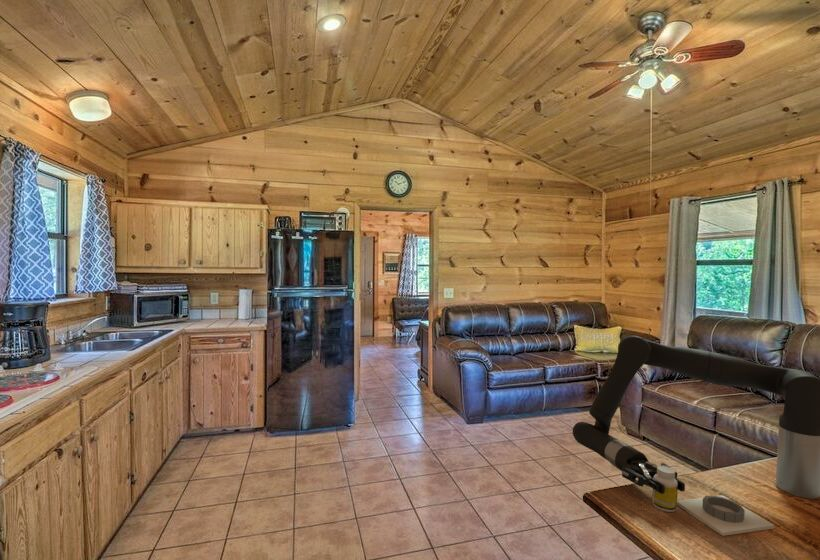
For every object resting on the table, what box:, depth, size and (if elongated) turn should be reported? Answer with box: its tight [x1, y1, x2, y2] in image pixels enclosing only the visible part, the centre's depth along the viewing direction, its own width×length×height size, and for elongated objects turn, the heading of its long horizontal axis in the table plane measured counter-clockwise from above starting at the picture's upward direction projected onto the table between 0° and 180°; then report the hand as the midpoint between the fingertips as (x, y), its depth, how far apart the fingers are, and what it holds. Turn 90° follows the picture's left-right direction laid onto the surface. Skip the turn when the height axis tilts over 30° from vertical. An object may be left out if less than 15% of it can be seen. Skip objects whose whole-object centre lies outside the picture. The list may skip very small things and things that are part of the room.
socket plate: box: [677, 495, 775, 537], centre depth 104 cm, size 15×13×3 cm
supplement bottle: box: [651, 465, 678, 513], centre depth 107 cm, size 5×5×10 cm
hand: (673, 488), depth 105 cm, fingers closed on supplement bottle, 5 cm apart
